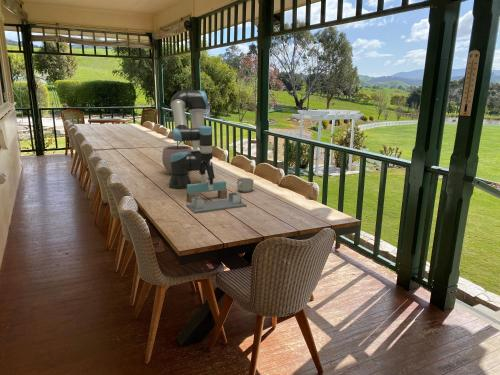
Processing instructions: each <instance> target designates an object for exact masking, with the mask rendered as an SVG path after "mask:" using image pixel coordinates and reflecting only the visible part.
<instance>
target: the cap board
mask: <svg viewBox="0 0 500 375" xmlns="http://www.w3.org/2000/svg"><path fill="white" fill-rule="evenodd" d="M186 207H187V208H189V210H190V211H191V212H192V213H193V214H201V213H202V214H203V213H209V212H214V211H215V212H216V211H224V210H230V209H237V208H245V207H247V204H246V203H245V202H243V201H241V203H239V204H232V201H231V202H229V201H228V198H224V199H218V200H217V199H216V200H212V201H211V200H210V201H204V208H202V209H194V208H193V207H192V206H191V203H187V204H186Z"/></svg>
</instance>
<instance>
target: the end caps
mask: <svg viewBox="0 0 500 375" xmlns="http://www.w3.org/2000/svg"><path fill="white" fill-rule="evenodd" d="M227 199H228V201H229V202H231V201H232V204H239V203H241V202H242V194H241V193H239V192H237V191H235V192H227ZM204 202H205V200H204V198H201V196H196V197H191V203H190V204H191V206H192V207H193V208H194V209H202V208H204Z"/></svg>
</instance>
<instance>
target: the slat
mask: <svg viewBox="0 0 500 375" xmlns="http://www.w3.org/2000/svg"><path fill="white" fill-rule="evenodd" d="M219 190H227V181H225V180H220V181H219V180H218V181H213V190H209V188H208V181H207V182H205V183H201V182H198V183H192V184H188V185H187V188H186V192H187V193H188V194H193V193H195V194H200V193H201V194H202V193H209V192H216V191H217V192H218V191H219Z"/></svg>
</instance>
